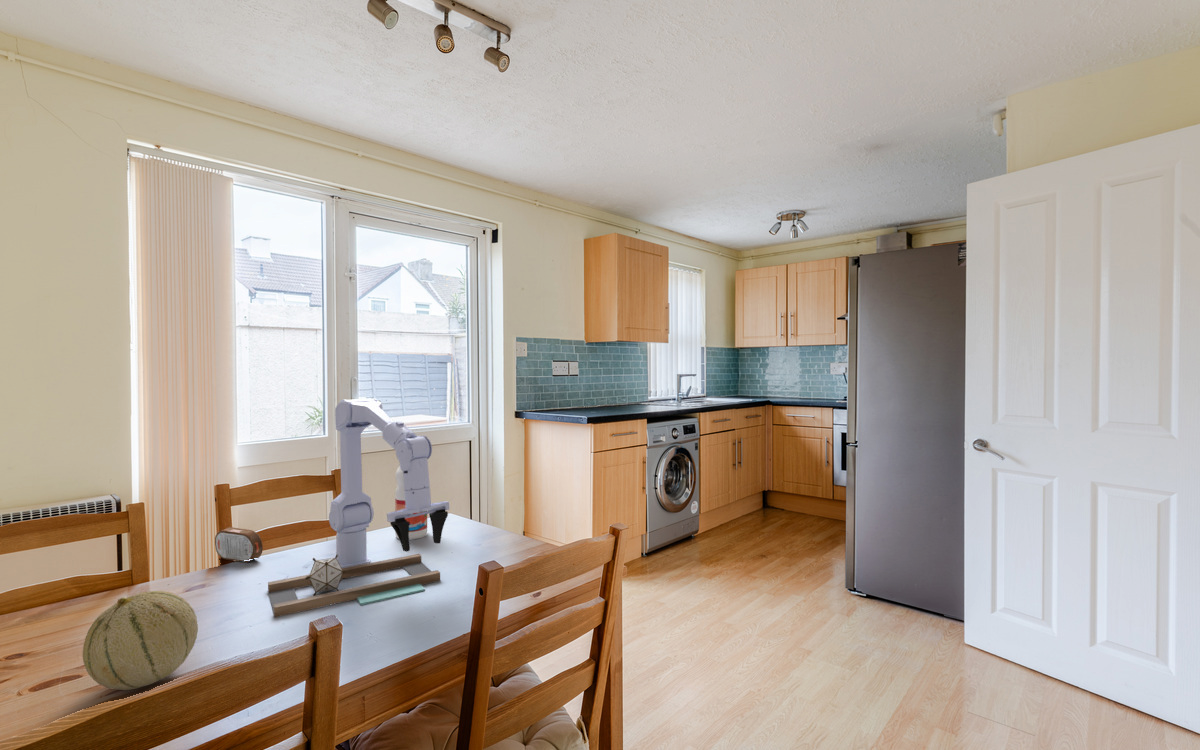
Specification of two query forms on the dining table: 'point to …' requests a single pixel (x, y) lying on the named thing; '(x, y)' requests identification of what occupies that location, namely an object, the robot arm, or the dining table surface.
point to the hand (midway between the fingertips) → (422, 546)
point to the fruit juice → (416, 523)
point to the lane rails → (350, 593)
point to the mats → (291, 595)
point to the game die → (325, 575)
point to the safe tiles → (390, 594)
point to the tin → (238, 544)
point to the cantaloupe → (140, 640)
